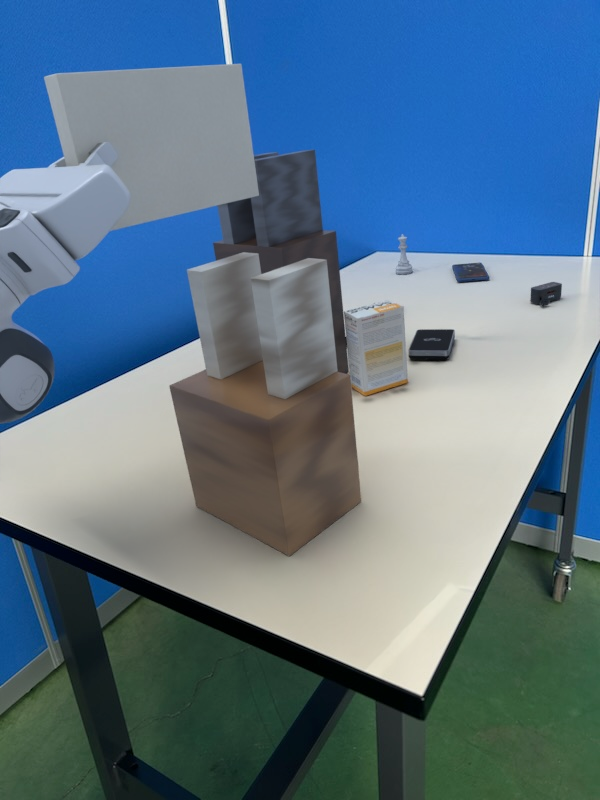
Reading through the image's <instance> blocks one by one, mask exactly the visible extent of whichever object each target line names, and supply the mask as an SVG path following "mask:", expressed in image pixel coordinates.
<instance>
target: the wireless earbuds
mask: <svg viewBox="0 0 600 800" xmlns="http://www.w3.org/2000/svg"><path fill="white" fill-rule="evenodd" d="M562 288H563V284H562V282H556V281H551V282H546V283H543V284H539V285H536V286H531V287H530V298H529V299H530V300H529V301H530V303H531V304H535V305H538V306H540V307H545V306H548V305H550V303H552V302H555V301H558V300H560V299H561V298H562V290H563V289H562Z"/></svg>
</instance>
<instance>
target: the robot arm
mask: <svg viewBox="0 0 600 800" xmlns="http://www.w3.org/2000/svg"><path fill="white" fill-rule="evenodd" d="M89 154H90V156H89V157H88V159H87V160H86V161H85V163H81V164H80V165H79V166H68V167H67V166H66V162H65V158H64V156H62V157H61V158H59V159H58V160H56V161H54V162H53V163H51V164H50V165H48V166H47V167H33V168H14V169H11V170H10V171H8V172H6V173H5V174H3V175H2V176H1V177H0V425H2V424H8V423H13V422H15V421H18V420H20V419H22V418H24V417H26V416H28V415H29V414H31V413H32V412H33V411H34V410H35V409H37V408H38V406H39V405H40V404H41V403H42V402H43V401H44V399H45V398H46V397H47V396H48V394H49V392H50V390H51V388H52V385H53V383H54V379H55V374H56V373H55V371H56V370H55V369H56V367H55V365H56V364H55V359H54V355H53V353H52V351H51V350H50V348H49V347H48V346H47V345H46V343H44V342H43V341H42V340H41V339H40V338H39V337H38V336H37V335H35V334H34V333H32V332H31V331H29V330H27V328H25V327H22V326H21V325H19V324H17V323H15V322H14V320H13V314H14V313H15V311H17V310H18V308H20V307H21V306H22V305H23V304H24V303H25V301H27V300H28V298H29V297H30V296H35V295H37V294H38V293H40V292H42V291H44V290H47V289H50V288H54V287H59V286H64V285H66V284H68V283H70V282H71V281H72V280H74V278H75V277H76V275H78V273H80V270H81V266H80V265H79V264H78V262H76V261H78V260H81V259H83V258H84V257H87V255H89V254H91V253H92V251H93V250H95V248H96V247H97V246H98V245H99V244H100V243H101V242H102V241H103V239H104V238H105V237H106V236H107V235H108V234H109V232H111V231H110V230H111V229H112V228H113V226H114V225H115V224H116V223H117V222H118V220H119V219H120V218H121V217H122V215H123V214H124V213H125V211H126V210H127V208H128V206H129V203H130V199H131V194H130V192H129V190H128V189H127V188H126V186H125V185H124V183H123V182H122V181H121V179H120V178H119V177H118V176H117V174H116V173H115V172H114V171H113V169H112V168H111V167H110V166H111V165H112V164H113V163H114V162H115V161H116V160H117V159H118V153H117V151H116V150H115V149H114V147H113V146H112V145H111V143H109V142H104V143H98V144H97V145H96V146H95V147H94V148H93V149H92V150H91V151H90V152H89Z"/></svg>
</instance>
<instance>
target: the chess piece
mask: <svg viewBox="0 0 600 800" xmlns="http://www.w3.org/2000/svg"><path fill="white" fill-rule="evenodd" d="M397 240H398V241H399V246H398V247H397V248H398V250H400V257H399V261H398V264H397V265H396V266H395V274H396V275H398V276H399V275H400V276H405V275H410V274H412V273H413V270H414V269H413V265H412V264H411V263H410V260H408V257H407V251H406V249H408V248H409V247H408V245H407V243H406V241H407V240H408V237H407V236H405V235H404V233H402V234H401V235H400V237H398V238H397Z"/></svg>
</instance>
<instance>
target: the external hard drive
mask: <svg viewBox="0 0 600 800" xmlns="http://www.w3.org/2000/svg"><path fill="white" fill-rule="evenodd" d="M455 337H456V331H455V329H453V328H440V329H439V328H436V329H433V328H432V329H430V328H428V329H425V328H424V329H423V328H422V329H421V328H420V329H416V331H415V334H414V336H413V337H412V341H411V343H410V345H409V347H408V349H407V350H408V358H409V360H411V361H412V360H414V361H415V360H417V361H420V360H421V361H424V360H427V361H448V360H449V359H450V356H451V353H452V349H453V345H454V342H455Z"/></svg>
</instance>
